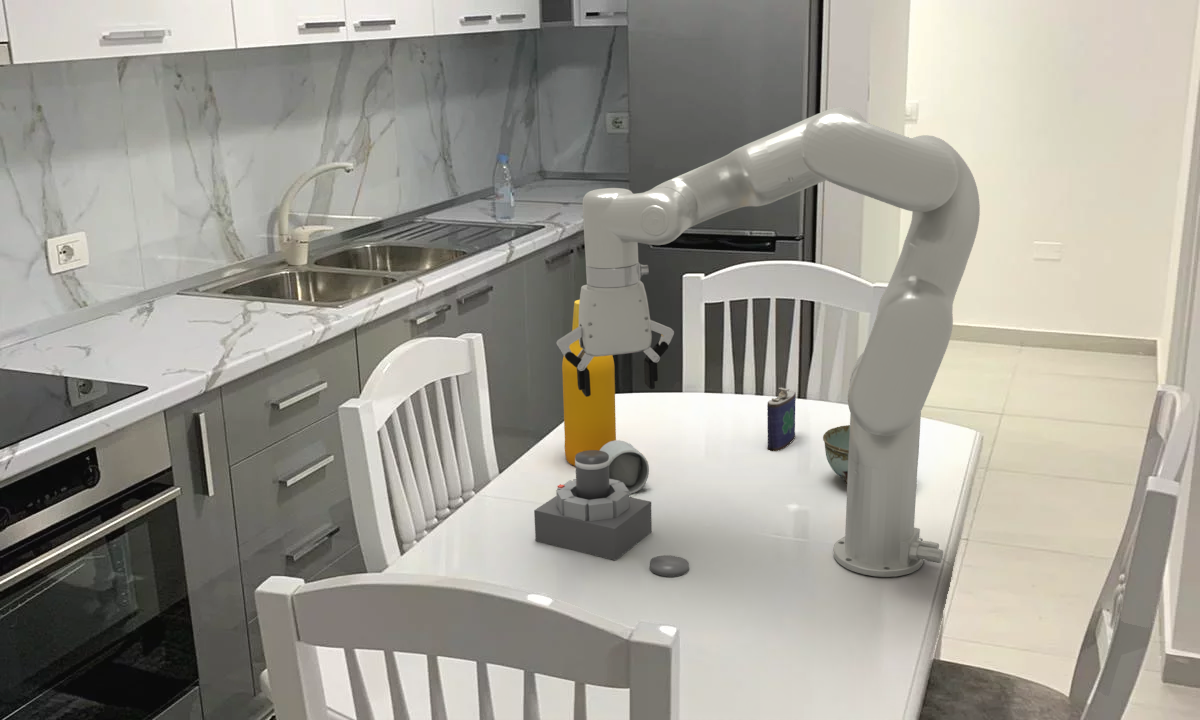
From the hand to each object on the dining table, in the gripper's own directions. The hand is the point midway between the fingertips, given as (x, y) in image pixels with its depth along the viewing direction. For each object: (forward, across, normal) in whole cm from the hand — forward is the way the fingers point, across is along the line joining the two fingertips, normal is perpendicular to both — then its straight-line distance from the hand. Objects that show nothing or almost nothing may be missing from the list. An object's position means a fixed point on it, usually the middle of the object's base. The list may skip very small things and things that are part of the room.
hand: (618, 390), depth 169 cm
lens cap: (+23, -3, +13) cm, 27 cm away
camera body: (+23, +5, -1) cm, 24 cm away
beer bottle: (+23, -2, -32) cm, 39 cm away
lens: (+18, +5, 0) cm, 18 cm away
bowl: (+24, -43, -9) cm, 50 cm away
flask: (+24, -37, -30) cm, 53 cm away
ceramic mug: (+23, -3, -18) cm, 30 cm away
